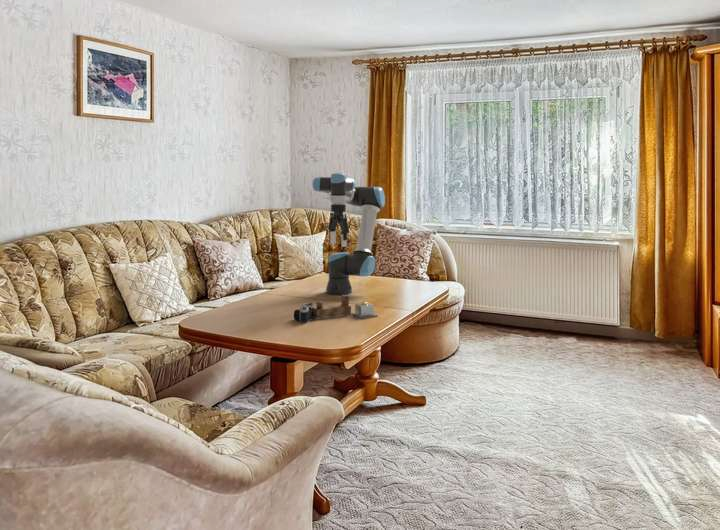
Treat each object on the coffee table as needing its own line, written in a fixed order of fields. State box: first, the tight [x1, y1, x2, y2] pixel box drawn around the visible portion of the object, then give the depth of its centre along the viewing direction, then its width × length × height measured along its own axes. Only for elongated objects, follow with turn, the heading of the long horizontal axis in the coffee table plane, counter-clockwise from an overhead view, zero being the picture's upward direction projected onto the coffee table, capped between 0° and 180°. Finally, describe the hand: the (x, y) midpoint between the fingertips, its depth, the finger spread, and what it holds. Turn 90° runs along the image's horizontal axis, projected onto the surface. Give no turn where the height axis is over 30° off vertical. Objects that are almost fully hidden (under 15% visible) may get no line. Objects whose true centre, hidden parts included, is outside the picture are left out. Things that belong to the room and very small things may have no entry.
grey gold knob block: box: [354, 301, 375, 316], centre depth 280 cm, size 6×7×6 cm
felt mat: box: [351, 312, 378, 320], centre depth 280 cm, size 10×9×1 cm
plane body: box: [312, 294, 353, 320], centre depth 278 cm, size 19×5×10 cm, turn 117°
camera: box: [293, 302, 314, 325], centre depth 271 cm, size 13×8×9 cm, turn 172°
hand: (338, 245), depth 298 cm, fingers open, 13 cm apart
